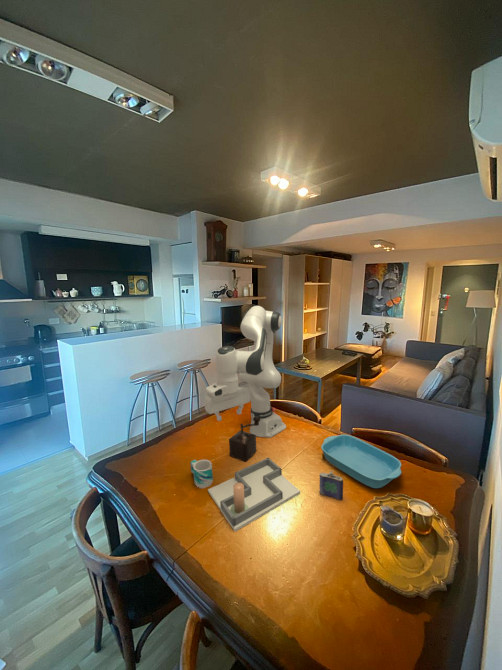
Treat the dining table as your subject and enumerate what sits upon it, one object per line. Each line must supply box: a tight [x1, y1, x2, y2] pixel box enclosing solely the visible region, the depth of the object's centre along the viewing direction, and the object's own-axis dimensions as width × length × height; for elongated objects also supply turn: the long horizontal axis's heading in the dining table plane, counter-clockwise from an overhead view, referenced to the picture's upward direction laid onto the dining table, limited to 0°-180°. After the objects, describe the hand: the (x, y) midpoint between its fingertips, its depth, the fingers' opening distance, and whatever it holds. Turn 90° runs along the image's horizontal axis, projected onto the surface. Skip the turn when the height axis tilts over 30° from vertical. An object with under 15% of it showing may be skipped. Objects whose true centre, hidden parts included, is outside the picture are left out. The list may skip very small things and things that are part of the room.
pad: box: [230, 504, 248, 516], centre depth 104 cm, size 7×7×1 cm
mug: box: [189, 458, 214, 489], centre depth 122 cm, size 8×12×8 cm
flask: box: [318, 470, 344, 501], centre depth 110 cm, size 9×3×11 cm, turn 65°
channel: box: [207, 457, 301, 532], centre depth 113 cm, size 31×23×4 cm
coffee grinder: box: [228, 416, 261, 462], centre depth 141 cm, size 16×11×18 cm
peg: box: [233, 483, 245, 514], centre depth 103 cm, size 4×4×10 cm
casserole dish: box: [320, 434, 402, 489], centre depth 127 cm, size 37×22×7 cm, turn 35°
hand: (229, 417), depth 115 cm, fingers open, 8 cm apart
